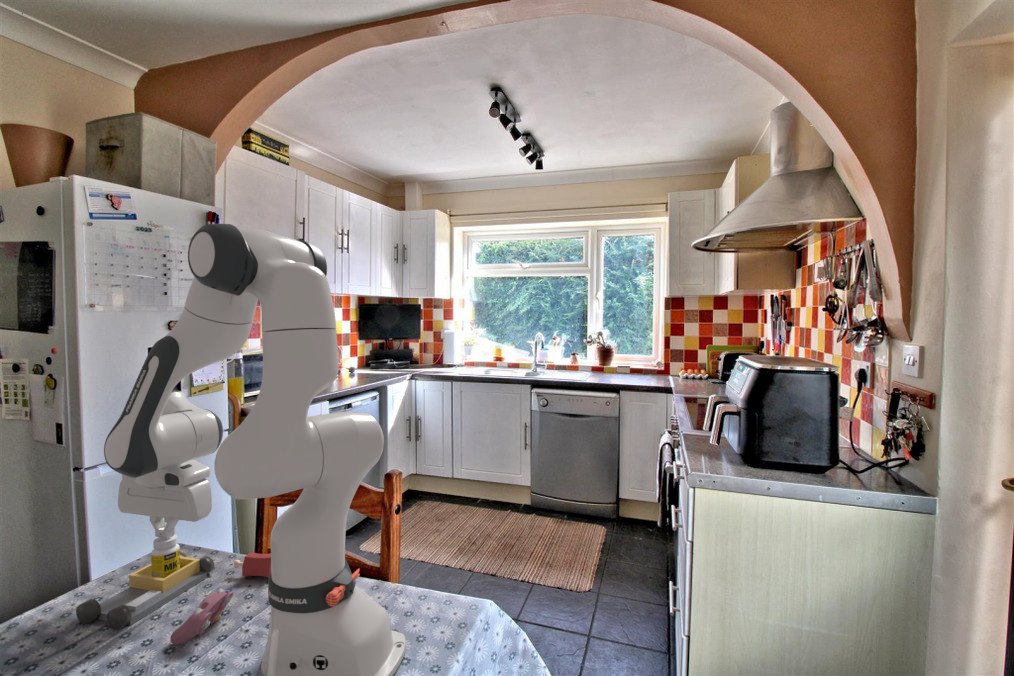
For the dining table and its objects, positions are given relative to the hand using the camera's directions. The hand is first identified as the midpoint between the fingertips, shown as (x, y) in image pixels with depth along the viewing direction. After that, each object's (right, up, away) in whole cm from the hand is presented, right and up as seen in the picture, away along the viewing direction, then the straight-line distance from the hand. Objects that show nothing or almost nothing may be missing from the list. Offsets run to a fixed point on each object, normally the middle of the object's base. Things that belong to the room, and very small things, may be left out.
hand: (165, 536), depth 97 cm
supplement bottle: (0, -9, 0) cm, 9 cm away
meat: (+18, -10, +4) cm, 21 cm away
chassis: (0, -10, -4) cm, 11 cm away
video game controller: (+16, -11, -13) cm, 24 cm away
